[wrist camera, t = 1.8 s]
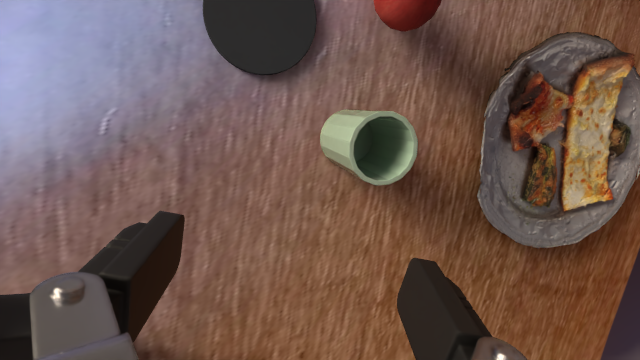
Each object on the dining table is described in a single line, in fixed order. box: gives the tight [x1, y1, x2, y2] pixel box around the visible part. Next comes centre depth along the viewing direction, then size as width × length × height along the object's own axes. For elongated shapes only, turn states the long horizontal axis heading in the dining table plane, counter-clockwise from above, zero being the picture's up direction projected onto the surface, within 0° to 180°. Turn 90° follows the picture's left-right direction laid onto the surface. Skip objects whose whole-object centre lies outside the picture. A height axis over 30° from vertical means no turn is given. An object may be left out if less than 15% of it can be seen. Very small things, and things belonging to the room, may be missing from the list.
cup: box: [320, 110, 418, 185], centre depth 31 cm, size 6×6×9 cm
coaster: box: [203, 0, 316, 75], centre depth 30 cm, size 10×10×1 cm
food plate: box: [477, 32, 640, 248], centre depth 40 cm, size 25×23×4 cm
